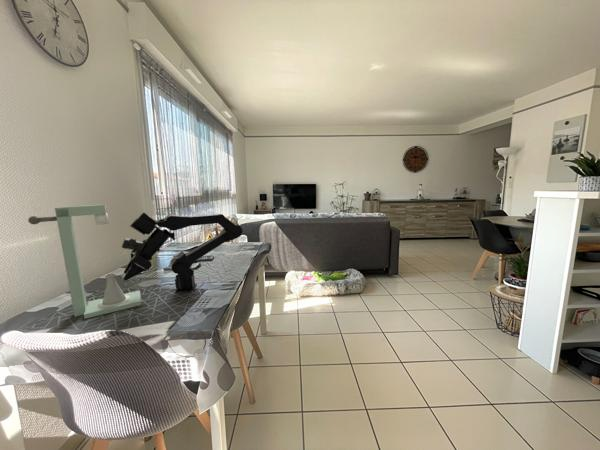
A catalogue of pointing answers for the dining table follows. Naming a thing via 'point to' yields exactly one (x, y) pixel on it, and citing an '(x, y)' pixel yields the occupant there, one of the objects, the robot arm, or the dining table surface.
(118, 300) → the flask
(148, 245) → the robot arm
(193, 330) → the dining table surface
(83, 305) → the bench press
